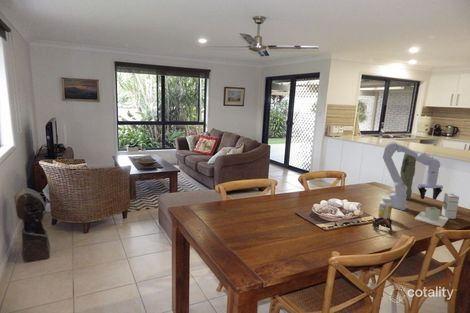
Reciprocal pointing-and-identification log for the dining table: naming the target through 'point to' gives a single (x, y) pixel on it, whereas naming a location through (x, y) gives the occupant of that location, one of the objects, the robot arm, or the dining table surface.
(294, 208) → the dining table surface
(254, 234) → the dining table surface
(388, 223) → the brown animal figurine
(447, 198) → the syrup box
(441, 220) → the board
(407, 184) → the thermos
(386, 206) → the supplement bottle
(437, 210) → the collar
